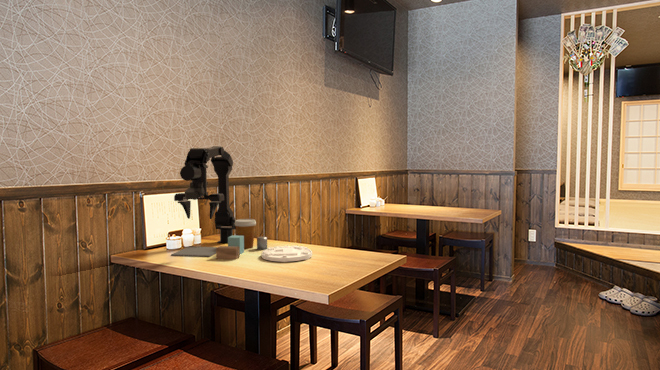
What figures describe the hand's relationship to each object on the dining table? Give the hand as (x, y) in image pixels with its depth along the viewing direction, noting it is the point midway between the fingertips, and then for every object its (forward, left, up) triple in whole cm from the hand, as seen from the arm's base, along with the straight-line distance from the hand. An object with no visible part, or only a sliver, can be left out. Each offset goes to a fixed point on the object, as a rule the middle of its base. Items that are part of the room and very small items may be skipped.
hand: (199, 218), depth 171 cm
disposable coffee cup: (-17, +13, -15) cm, 26 cm away
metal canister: (-15, +21, -15) cm, 30 cm away
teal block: (-5, +13, -15) cm, 20 cm away
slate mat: (-5, -3, -15) cm, 16 cm away
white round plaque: (-2, +35, -15) cm, 38 cm away
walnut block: (+4, +13, -15) cm, 20 cm away
